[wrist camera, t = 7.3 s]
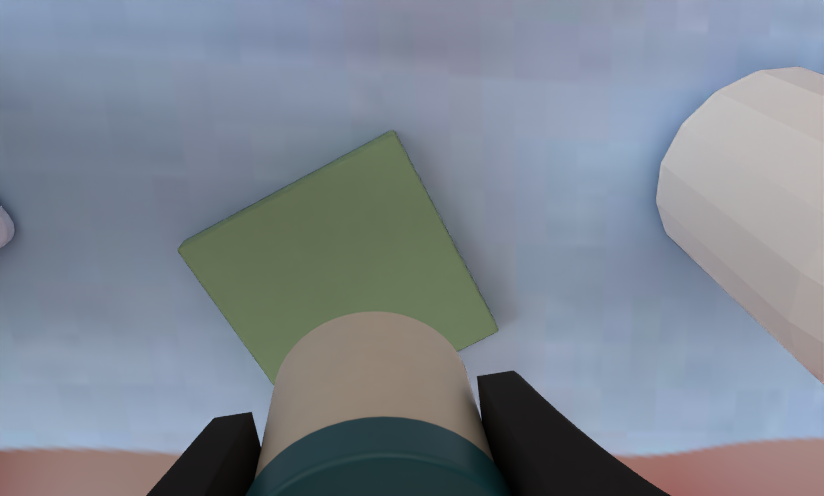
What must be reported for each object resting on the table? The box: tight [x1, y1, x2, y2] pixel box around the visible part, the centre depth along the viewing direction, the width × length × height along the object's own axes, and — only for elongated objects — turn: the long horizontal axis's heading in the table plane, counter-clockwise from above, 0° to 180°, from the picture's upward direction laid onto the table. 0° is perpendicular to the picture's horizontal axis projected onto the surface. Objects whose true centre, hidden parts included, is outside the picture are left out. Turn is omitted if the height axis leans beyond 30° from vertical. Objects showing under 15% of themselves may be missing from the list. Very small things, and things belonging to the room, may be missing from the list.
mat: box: [178, 130, 498, 385], centre depth 17 cm, size 6×6×1 cm
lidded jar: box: [246, 311, 512, 496], centre depth 10 cm, size 4×4×4 cm
